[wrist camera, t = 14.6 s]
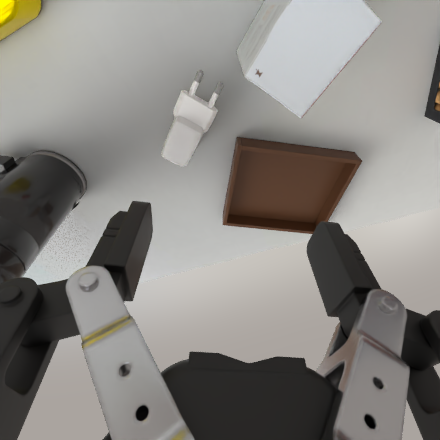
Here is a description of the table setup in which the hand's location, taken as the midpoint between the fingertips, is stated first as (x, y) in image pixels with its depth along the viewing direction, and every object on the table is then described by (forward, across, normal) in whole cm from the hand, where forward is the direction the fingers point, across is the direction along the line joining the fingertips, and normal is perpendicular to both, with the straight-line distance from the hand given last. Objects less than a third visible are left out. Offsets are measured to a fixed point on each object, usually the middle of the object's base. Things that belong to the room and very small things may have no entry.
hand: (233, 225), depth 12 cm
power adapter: (+26, +4, +4) cm, 27 cm away
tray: (+26, -12, +14) cm, 32 cm away
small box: (+26, -5, -6) cm, 27 cm away
